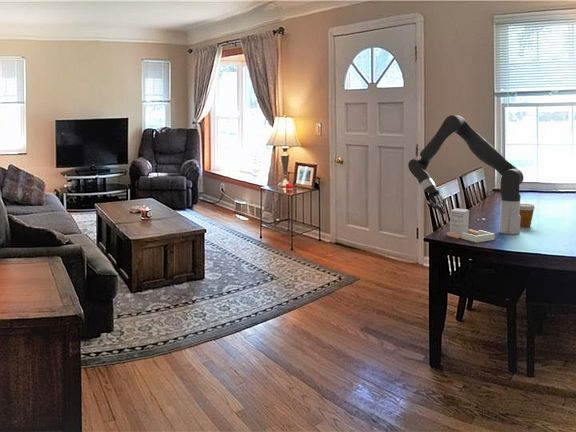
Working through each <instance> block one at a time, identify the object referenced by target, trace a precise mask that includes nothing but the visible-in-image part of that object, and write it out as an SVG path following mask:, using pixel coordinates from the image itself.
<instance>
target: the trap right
mask: <svg viewBox="0 0 576 432" xmlns="http://www.w3.org/2000/svg"><path fill="white" fill-rule="evenodd" d="M468 234H472V235H475V236H478V230H475V229H471V228H470V229H469V228H468Z"/></svg>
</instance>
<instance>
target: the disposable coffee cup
mask: <svg viewBox="0 0 576 432" xmlns="http://www.w3.org/2000/svg"><path fill="white" fill-rule="evenodd" d="M535 208H536V207H535V205H534V204H531V203H520V212H519V215H520V216H521V221H520V228H524V229H525V228H527V229H528V228H531V226H532V225H531V224H532V221H533V215H534V210H535Z"/></svg>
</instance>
